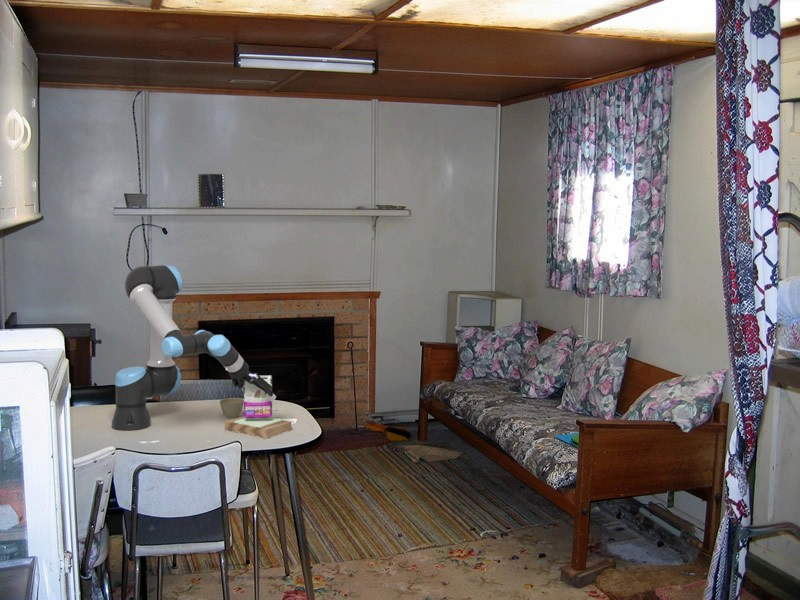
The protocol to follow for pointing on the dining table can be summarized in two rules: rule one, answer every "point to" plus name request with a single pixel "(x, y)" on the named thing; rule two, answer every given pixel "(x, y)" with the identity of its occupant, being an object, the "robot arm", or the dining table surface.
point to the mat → (258, 421)
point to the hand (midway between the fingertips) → (262, 397)
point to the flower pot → (232, 407)
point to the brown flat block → (256, 431)
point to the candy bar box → (257, 400)
